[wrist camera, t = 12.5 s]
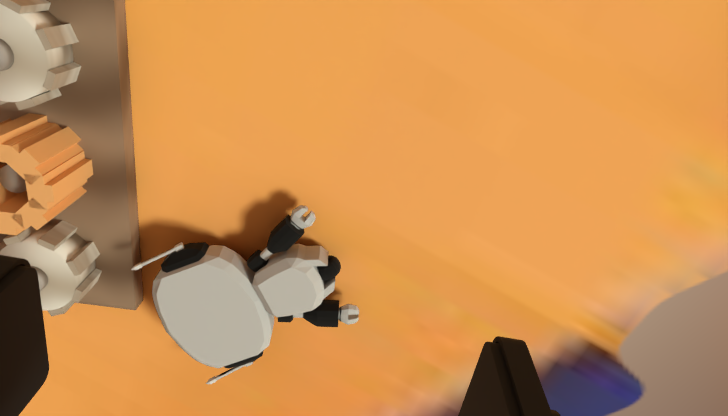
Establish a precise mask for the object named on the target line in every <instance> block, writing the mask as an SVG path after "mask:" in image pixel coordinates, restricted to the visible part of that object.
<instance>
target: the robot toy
mask: <svg viewBox="0 0 728 416" xmlns="http://www.w3.org/2000/svg"><path fill="white" fill-rule="evenodd" d="M307 211H308V207H306V206H303V205H301V206H299V207H297V208H295V209H294V210H293V211H292V214H291V216H290V215H287V216H286V217H285V218H284V219H283V220H282V221H281V222H280V223H279V224H278V225H277V226H276V227H275V229H274V230H273V231H272V232H271V234H270V237H269V240H268V244H267V247H266V248H265V249H264V250H263V251H259V250H257V251H256V252H255V253H254V254H253V255H252V256H251V257H250V258H249V259H248V260H247V262H246V261H245V260H244V259H243V258H242V257H241V256H240V255H239V254H238V253H236V252H235V251H233V250H231V249H229V248H227V247H225V246H221V245H211V246H209V245H208V244H207V243H205V242H203V243H189V244H187V245H184V244H183V243H182V242H181V243H179V244H177V245H175V246H174V248H172V249H170V250H168V251H166V252H164V253H161V254H159V255H157V256H155V257H153V258H151V259H149V260H147V261H145V262H142V263H139V264H137V265H135V266H134V267H133V268H132V269H131V270H138V269H140V268H142V267H143V266H144V265H147V264H149V263H151V262H153V261H155V260H157V259H159V258H161V257H163V256H166V255H168V254H169V255H168V256H167V257H166V258H165V260H164V261H163V263H162V264H161V267H162V269H161V270H160V272H159V273H158V275H157V276H156V278H155V279H154V281H153V289H152V295H153V300H154V304H155V307H156V310H157V313H158V315H159V317H160V319H161V321H162V324H163V326H164V328H165V330H166V332H167V333H168V334H169V335H170V336H171V337H172V338H173V339H174V341H175V342H176V343H177V344H178V345H179V346H180V347H181V348H182V349H183V350H184V351H185V352H186V353H187V354H188V355H190V356H191V357H192V358H193V359H195V360H196V361H198V362H200V363H203V364H205V365H207V366H210V367H215V368H221V367H225V368H231V369H230V370H228V371H226V372H224V373H222V374H220V375H218V376H216V377H215V376H214V377H212V378H210V379H209V380H208V382H207V383H206V384H212V383H214V382H216V380H218V379H220V378H222V377H224V376H226V375H228V374H230V373H232V372H234V371H236V370H238V369H240V368H242V367H244V366H245V365H246V367H247V366H249V365H251V364H253V361H255V360H256V359H258V358H259V357H261V356H262V355H263V350H264V349H265V348H266V347H268V346H269V343H270V339H271V335H272V330H273V325H274V316H276V317H278V322H291V321H292V320H293V317H299V318H304V319H306V320H307V321H309V322H310V323H312V324H314V325H316V326H321V327H338V319H339V320H340V321H342V322H344V323H346V324H353V323H356V322H357V321H358V314H359V308H358V307H357V306H356V305H352V304H347V305H344V306H342V307H340V308H339V301H337V300H323V299H324V298H325V297H327V296H328V295H329V294H330V293H332V292H333V291H334V286H335V276H336V275H337V274H338V273H339V272H340V269H341V265H340V262H339V260H338V259H337V258H336V257H334V256H328V251H327V250H326V249H324V248H323V247H322V246H305V245H302V244H294V243H295V242H296V241H297V240H298V239H299V238H300V237H301V236H302V235H303V234H304V228H306V227H309V226H312V224H313V222H314V221H315V219H316V218H315V214H314V212H312V211H311V212H310V213H309V214H308V215H307V216H306V217H304V216H303V214H304V213H305V212H307ZM232 367H233V368H232Z"/></svg>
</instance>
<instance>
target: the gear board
mask: <svg viewBox="0 0 728 416" xmlns="http://www.w3.org/2000/svg"><path fill="white" fill-rule="evenodd" d="M29 113H32V114H40V115H47V122H49V123H56V124H58V125H59V126H60V127H61V128H62V129H64V128H66V127H69V128H70V129H71V130H72V131H73V132H74V133H75V134H76V135H77V136H78V137H80V138H81V140H80V141H79V142H78V143H77V144H78V145H79V146H80V147H81V148H82V149H83V151H84V155H85V159H92V167H93V175H92V176H91V177H89V178H88V179H87V182H86V183H85V184H84V185H83V186H82V187H83V188H84V189H85V190H86V191H87V192H86V193H85V194H83V195H82V196H81V197H80V198H79V199H78V200H76V201H75V202H74V203H72V204H71V205H70V206H68V207H67V208H66V209H65V210H63V211H62V212H61V213H59V214H58V215H57V216H55V217H54V218H53V219H51V220H50V221H49V222H47V223H46V224H45V225H44V226H42V227H41V228H40V229H38V230H36V229H35V228H33V227H32V226H30V227H29V228H27V229H26V230H23V231H22V232H21V233H19V234H18V235H17V236H16V235H8V234H0V255H4V256H10V257H16V258H23V259H26V260H28V262H29V263H30V266H31V267H33V268H35V269H36V270H37V273H38V281H39V289H40V297H41V305H42V310H49V311H48V312H49V313H50V315H51V316H54V315H59V314H64V313H66V312H67V310H68V309H69V308H70V307H71V306H72V305H73V304H74V303H83V304H91V305H99V306H107V307H114V308H122V309H130V310H136V309H137V308H138V306H139V305H140V304H141V302H142V301H143V288H142V272H141V268H140V269H138V270H131V269H132V268H133V267H134V266H135V265H137V264H139V263H141V255H140V239H139V223H138V207H137V191H136V175H135V158H134V142H133V126H132V110H131V94H130V78H129V61H128V45H127V29H126V13H125V0H0V123H1V122H3V121H5V120H8V119H11V120H14V119H17V118H19V117H21V116H24V115H26V114H29ZM0 183H1V184H2V186H3V187H4V188H6V189H7V190H9V191H11V192H14V193H22V192H24V191H26V190H27V189H26V182H25V180H24V179H23V178H22V177H21V176H20V175H19V174H18V173H17V172H16V171H14V170H13V169H12V168H11V167H10V166H9V165H8V164H7V165H6V166H4V167H2V168H1V169H0Z"/></svg>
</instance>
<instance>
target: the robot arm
mask: <svg viewBox="0 0 728 416" xmlns="http://www.w3.org/2000/svg"><path fill="white" fill-rule="evenodd" d="M48 371H49V362H48V354H47V345H46V337H45V329H44V321H43V313H42V305H41V297H40V289H39V281H38V273H37V270H36V269H35V268H33V267H31V266H30V263H29V262H28V260H26V259H23V258H16V257H10V256H4V255H0V416H18V415H19V414H20V413H21V412H22V410H23V409H24V408H25V407H26V405H27V404H28V403H29V402H30V400H31V399H32V398H33V396H34V395H35V394H36V393H37V391H38V390H39V389H40V388H41V386H42V385H43V383H44V382H45V380H46V378H47V375H48ZM458 416H560V414H559V413H558V412H557V411H555V410H550V407H549V404H548V402H547V399H546V396H545V394H544V391H543V388H542V386H541V383H540V380H539V377H538V375H537V372H536V369H535V367H534V364H533V361H532V358H531V356H530V353H529V350H528V348H527V345H526V343H525V342H524V341H523V340H517V339H511V338H505V337H499V336H498V337H496V338H495V339H494V340H493V342H486V343H485V344H484V346H483V349H482V352H481V354H480V357H479V360H478V363H477V365H476V368H475V371H474V374H473V377H472V379H471V382H470V385H469V388H468V390H467V393H466V396H465V399H464V401H463V404H462V407H461V410H460V412H459V415H458Z"/></svg>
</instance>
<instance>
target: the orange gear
mask: <svg viewBox="0 0 728 416" xmlns="http://www.w3.org/2000/svg"><path fill="white" fill-rule="evenodd" d="M80 140H81V138H80V137H78V136H77V135H76V134H75V133H74V132H73V131H72V130H71V129H70V128H69V127H66V128H64V129H62V128H61V127H60V126H59V125H58V124H56V123H49V122H47V115H40V114H32V113H29V114H26V115H24V116H21V117H19V118H17V119H14V120H11V119H8V120H5V121H3V122H1V123H0V169H1V168H2V167H4V166H6V165H7V164H8V165H9V166H10V167H11V168H12V169H13V170H14V171H16V172H17V173H18V174H19V175H20V176H21V177H22V178H23V179H24V180H25V182H26V189H27V190H26V191H24V192H22V193H14V192H11V191H9V190H7V189H6V188H4V187H3V186H2V184H1V183H0V234H8V235H16V236H17V235H18V234H19V233H21V232H22V231H23V230H26V229H27V228H29V227H30V226H32V227H33V228H35V229H36V230H38V229H40V228H41V227H42V226H44V225H45V224H46V223H47V222H49V221H50V220H51V219H53V218H54V217H55V216H57V215H58V214H59V213H61V212H62V211H63V210H65V209H66V208H67V207H68V206H70V205H71V204H72V203H74V202H75V201H76V200H78V199H79V198H80V197H81V196H82V195H83V194H85V193H86V192H87V191H86V190H85V189H84V188H83V187H82V186H83V185H84V184H85V183H86V182H87V179H88V178H89V177H91V176H92V175H93V167H92V159H85V155H84V151H83V149H82V148H81V147H80V146H79V145H78V144H77V143H78V142H79V141H80Z"/></svg>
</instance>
